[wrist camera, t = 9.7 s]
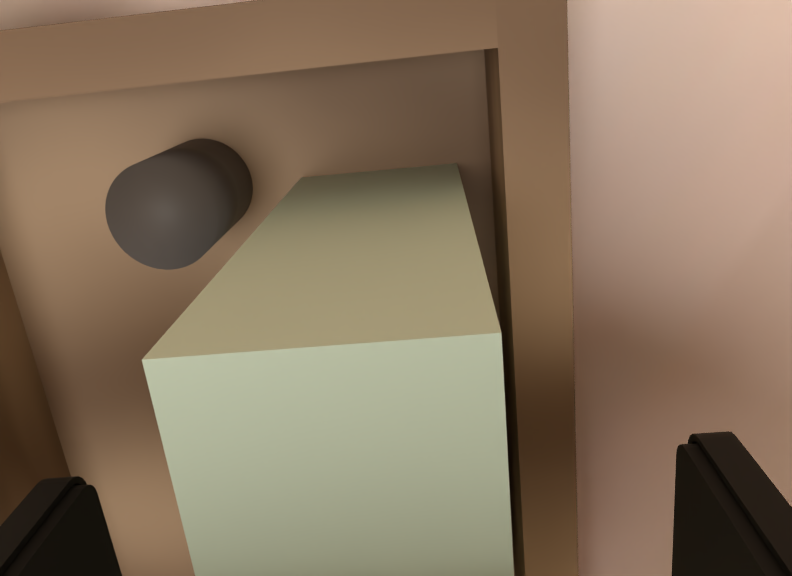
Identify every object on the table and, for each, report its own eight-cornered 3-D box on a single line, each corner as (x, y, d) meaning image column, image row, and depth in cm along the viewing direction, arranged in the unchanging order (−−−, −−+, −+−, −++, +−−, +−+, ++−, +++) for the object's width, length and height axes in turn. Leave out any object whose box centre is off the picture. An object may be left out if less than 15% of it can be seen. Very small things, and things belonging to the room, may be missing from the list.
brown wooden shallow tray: (553, 637, 18) (581, 769, 15) (116, 658, 19) (53, 787, 16) (529, -17, 13) (566, -36, 10) (-77, 53, 14) (-235, 58, 10)
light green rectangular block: (485, 580, 16) (537, 1038, 9) (344, 587, 17) (279, 1038, 9) (457, 162, 13) (501, 332, 6) (280, 179, 13) (95, 362, 6)
